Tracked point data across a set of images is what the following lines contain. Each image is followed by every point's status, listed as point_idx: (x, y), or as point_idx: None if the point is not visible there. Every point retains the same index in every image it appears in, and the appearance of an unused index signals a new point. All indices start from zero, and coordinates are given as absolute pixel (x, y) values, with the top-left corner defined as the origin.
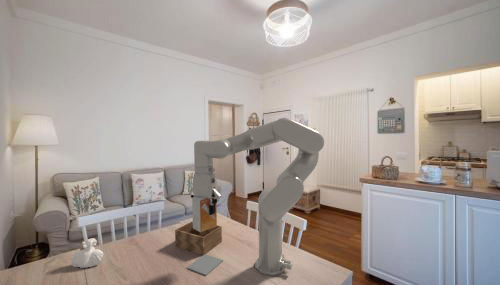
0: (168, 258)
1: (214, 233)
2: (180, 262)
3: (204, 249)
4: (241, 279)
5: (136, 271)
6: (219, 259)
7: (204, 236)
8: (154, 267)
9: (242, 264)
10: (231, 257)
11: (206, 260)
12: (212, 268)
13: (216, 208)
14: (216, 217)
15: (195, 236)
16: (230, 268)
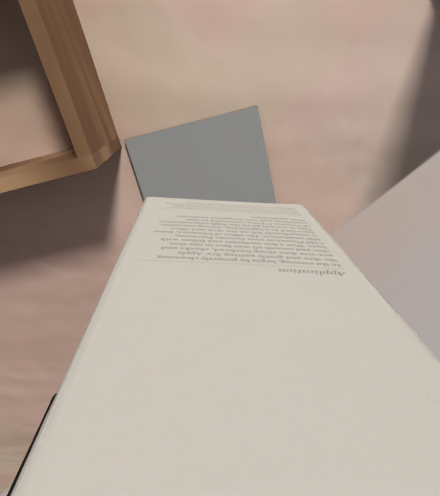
0: (19, 287)
1: (46, 10)
2: (97, 265)
3: (111, 140)
4: (435, 145)
5: (35, 405)
6: (236, 115)
7: (79, 145)
8: (54, 354)
9: (369, 45)
10: (267, 37)
11: (189, 174)
12: (271, 195)
13: (393, 309)
14: (334, 243)
15: (21, 187)
16: (336, 122)
